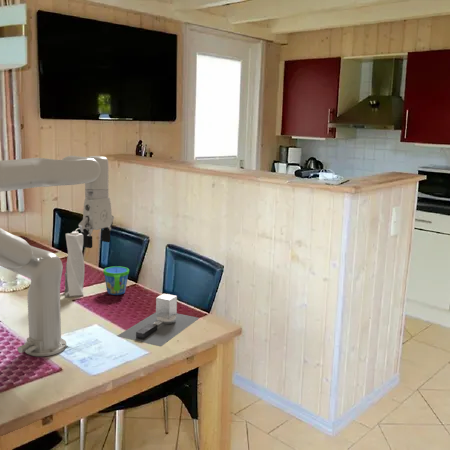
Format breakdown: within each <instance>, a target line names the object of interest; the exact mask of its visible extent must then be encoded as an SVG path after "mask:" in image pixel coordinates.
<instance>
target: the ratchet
mask: <svg viewBox="0 0 450 450" xmlns="http://www.w3.org/2000/svg"><path fill="white" fill-rule="evenodd" d="M174 323H176V315H175V316H173V317H172V318H170V319H166V318H162V317H156V322H155V323H150V324H148V325H146V326H145V327H143V328H142V329H140V330H139V331H137V332H136V338H137V339H141V340H144V339H145V338H147V337H148V336H150V335H151V334H153V333H154V332H156V331H157V330H158V329H159V328H161V327H162V326H164V325H172V324H174Z"/></svg>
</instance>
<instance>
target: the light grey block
mask: <svg viewBox="0 0 450 450" xmlns="http://www.w3.org/2000/svg"><path fill="white" fill-rule="evenodd" d="M177 302H178V295H174V294H170V293H162V294H160V295H158V296H157V297H155V304H156V305H155V312H156V316H157V317H162V318H166V319H170V318H172V317H173V316H175V315H176V314H177V313H178V311H177V309H178V303H177Z"/></svg>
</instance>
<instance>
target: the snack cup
mask: <svg viewBox="0 0 450 450" xmlns="http://www.w3.org/2000/svg"><path fill="white" fill-rule="evenodd" d="M129 274H130V269H129V268H128V267H125V266H121V265H119V266H117V265H115V266H109V267H105V268H104V269H103V275H104V281H105V286H106V292H107V294H108V295H112V296H120V295H123V294H125V293H126V289H127V284H128V278H129Z"/></svg>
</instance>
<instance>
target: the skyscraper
mask: <svg viewBox="0 0 450 450" xmlns="http://www.w3.org/2000/svg"><path fill="white" fill-rule="evenodd" d="M78 230H80V228H79V227H78V228H76V229H75V230H73V231H72V232H70V233H69V232H67V233H65V241H66V248H67V249H66V250H67V256H66V257H67V258H66V263H65V264H66V265H65V273H64V278H65V279H64V296H65V298H76V297H84V292H83V290H84V281H85V260H84V255H83V247H84V246H83V235H82V233H81V232H80V233H79V231H78Z"/></svg>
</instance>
